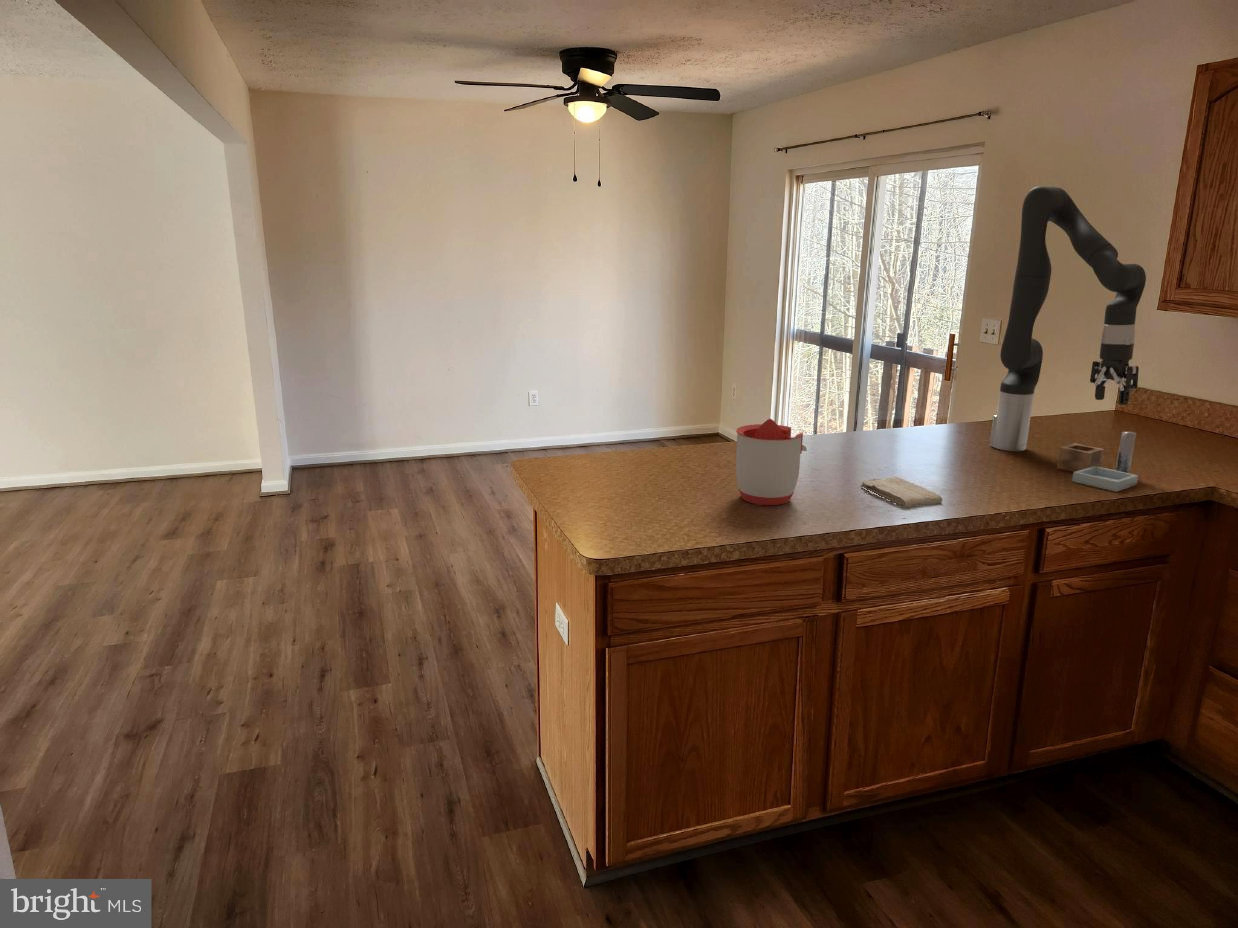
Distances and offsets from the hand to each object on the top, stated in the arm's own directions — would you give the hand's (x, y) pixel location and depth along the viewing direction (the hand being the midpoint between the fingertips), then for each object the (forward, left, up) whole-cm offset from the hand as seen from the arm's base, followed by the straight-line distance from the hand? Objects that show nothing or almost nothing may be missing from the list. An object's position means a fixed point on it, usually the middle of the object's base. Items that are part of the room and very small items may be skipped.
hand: (1111, 402), depth 218 cm
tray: (+7, -12, -19) cm, 23 cm away
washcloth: (-17, -65, -20) cm, 70 cm away
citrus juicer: (-33, -94, -19) cm, 102 cm away
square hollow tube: (-4, -4, -19) cm, 20 cm away
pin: (+6, -1, -19) cm, 20 cm away
